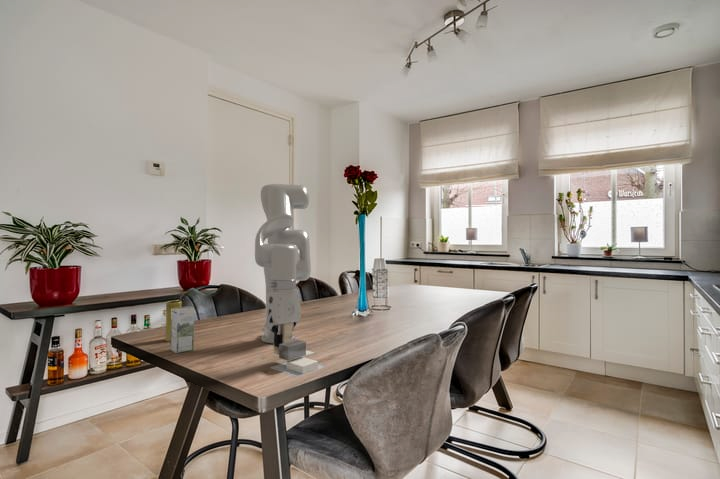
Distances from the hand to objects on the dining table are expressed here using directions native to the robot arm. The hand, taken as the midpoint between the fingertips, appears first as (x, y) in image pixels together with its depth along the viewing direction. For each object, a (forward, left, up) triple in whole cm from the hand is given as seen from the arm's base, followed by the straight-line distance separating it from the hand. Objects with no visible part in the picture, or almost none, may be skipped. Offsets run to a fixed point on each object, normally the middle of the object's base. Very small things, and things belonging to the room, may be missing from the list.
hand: (283, 344), depth 118 cm
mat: (+6, 0, -6) cm, 9 cm away
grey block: (+2, 0, -3) cm, 3 cm away
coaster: (-3, +10, -6) cm, 12 cm away
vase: (-53, -7, -6) cm, 54 cm away
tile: (+5, 0, -4) cm, 7 cm away
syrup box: (-37, -12, -6) cm, 40 cm away
